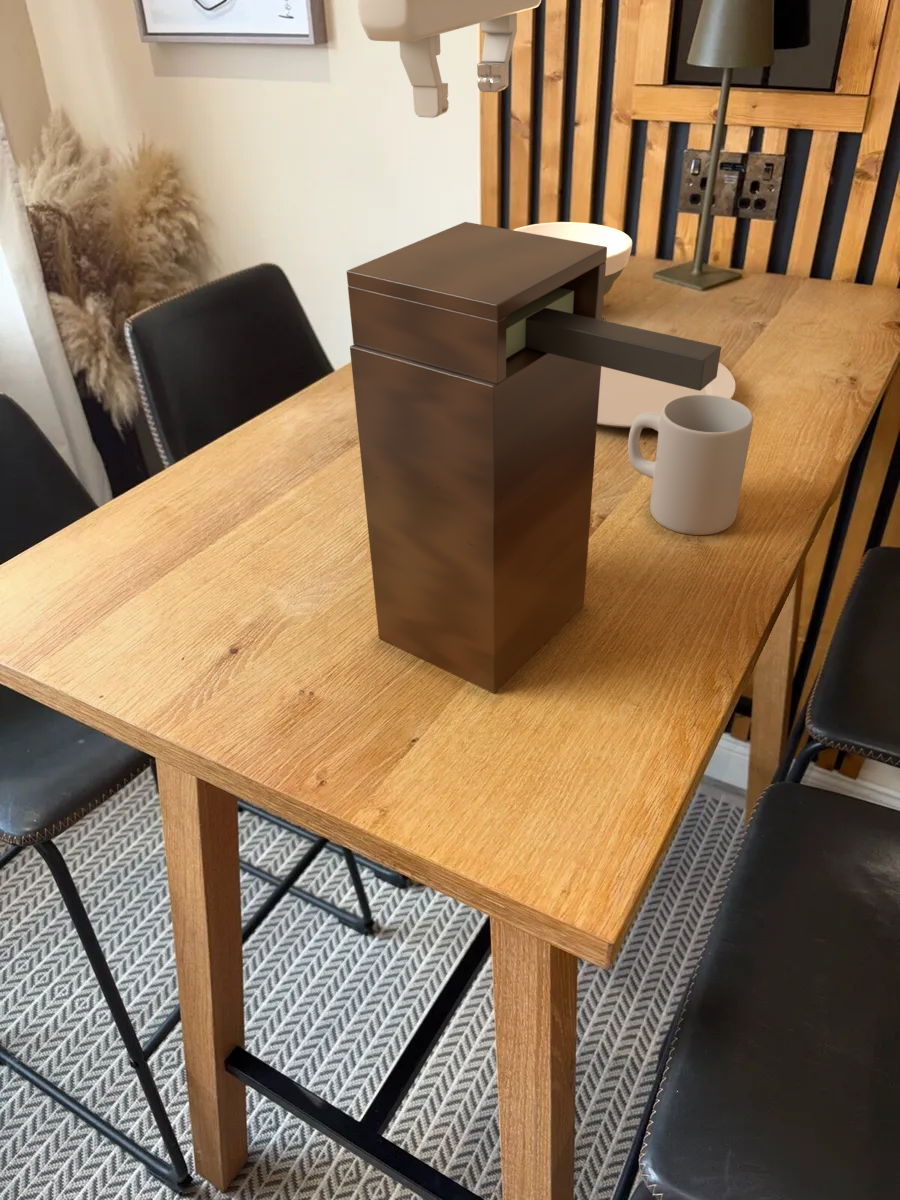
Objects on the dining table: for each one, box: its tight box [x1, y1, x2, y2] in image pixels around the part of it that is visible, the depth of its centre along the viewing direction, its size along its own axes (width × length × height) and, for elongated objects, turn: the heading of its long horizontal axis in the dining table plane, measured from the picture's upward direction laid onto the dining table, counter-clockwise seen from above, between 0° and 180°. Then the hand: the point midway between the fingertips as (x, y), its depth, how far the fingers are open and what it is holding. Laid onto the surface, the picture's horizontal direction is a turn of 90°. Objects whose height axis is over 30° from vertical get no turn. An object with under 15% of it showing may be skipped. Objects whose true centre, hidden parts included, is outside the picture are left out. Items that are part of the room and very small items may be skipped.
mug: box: [627, 395, 754, 536], centre depth 91 cm, size 12×8×11 cm
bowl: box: [513, 221, 633, 296], centre depth 138 cm, size 20×20×10 cm
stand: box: [346, 221, 607, 694], centre depth 71 cm, size 12×14×31 cm
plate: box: [597, 361, 737, 430], centre depth 115 cm, size 26×26×2 cm
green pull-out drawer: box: [506, 288, 722, 391], centre depth 61 cm, size 22×10×2 cm, turn 53°
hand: (464, 102), depth 63 cm, fingers open, 8 cm apart
